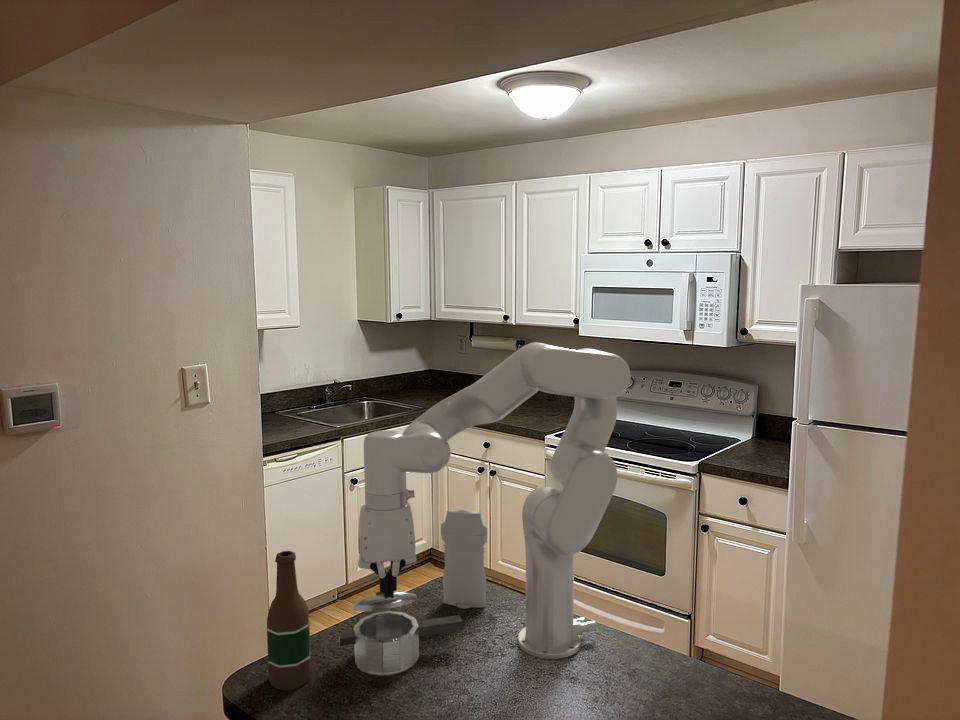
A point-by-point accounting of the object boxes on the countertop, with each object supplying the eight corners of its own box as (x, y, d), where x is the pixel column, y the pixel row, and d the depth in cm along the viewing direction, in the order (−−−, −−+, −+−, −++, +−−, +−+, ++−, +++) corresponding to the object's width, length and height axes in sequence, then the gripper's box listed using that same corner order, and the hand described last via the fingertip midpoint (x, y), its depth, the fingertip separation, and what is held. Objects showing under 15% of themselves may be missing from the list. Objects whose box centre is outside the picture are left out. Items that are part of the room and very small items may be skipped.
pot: (453, 629, 144) (452, 600, 143) (469, 662, 132) (468, 630, 131) (337, 647, 138) (336, 616, 137) (342, 683, 125) (341, 649, 125)
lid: (412, 605, 140) (410, 591, 142) (421, 593, 130) (419, 578, 131) (350, 614, 137) (349, 600, 138) (354, 602, 127) (353, 587, 128)
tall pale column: (489, 602, 156) (489, 508, 154) (485, 611, 152) (485, 514, 150) (444, 597, 159) (443, 505, 156) (439, 606, 155) (437, 511, 152)
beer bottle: (300, 694, 122) (295, 563, 119) (260, 689, 124) (254, 560, 121) (319, 669, 130) (314, 546, 127) (281, 665, 131) (275, 543, 129)
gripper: (422, 489, 132) (423, 581, 134) (342, 496, 127) (345, 591, 130) (430, 501, 124) (432, 598, 127) (346, 509, 120) (349, 609, 122)
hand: (388, 594), depth 128 cm, fingers closed
